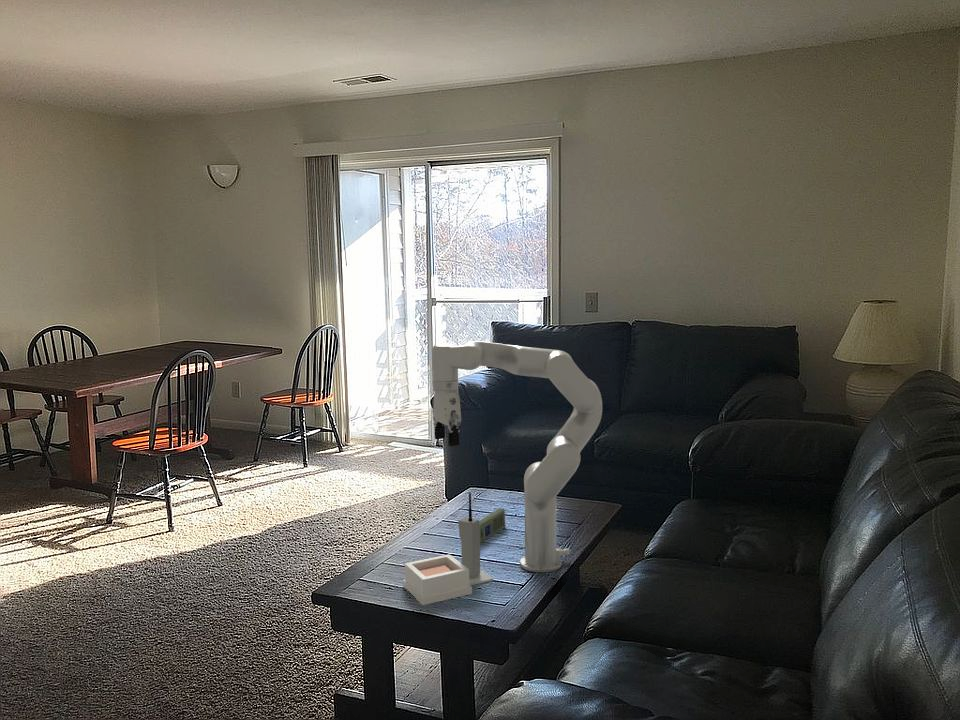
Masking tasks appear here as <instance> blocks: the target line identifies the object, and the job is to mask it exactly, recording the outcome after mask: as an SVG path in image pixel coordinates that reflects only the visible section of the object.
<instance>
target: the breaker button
mask: <svg viewBox="0 0 960 720" xmlns="http://www.w3.org/2000/svg"><path fill="white" fill-rule="evenodd" d="M419 571H420V572H421V573H422V574H423V575H424V576H431V575H436V574H440V573H445V572H449V571H451V570H450V569H449V568H447V567H446V566H445V565H442V566H438V567H433V568H428V569H424V570H419Z"/></svg>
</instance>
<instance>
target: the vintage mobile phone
mask: <svg viewBox="0 0 960 720" xmlns="http://www.w3.org/2000/svg"><path fill="white" fill-rule="evenodd" d="M472 512H473V511H472V493H471V492H469V493H468V517H466V516H465V517H463V518H461V519H459V520H457V522H458V532H459V533H458V534H459V538H460V542H461V545H460V546H461V549H460V550H461V564H463V565H464V566H465V567H466V568H468V569H469V578H472V579H473V578H475V577H476V576H478V575H480V569H481V544H480V526H479V521H480V519H477V518H472V517H473V516H472V515H473V514H472Z"/></svg>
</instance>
